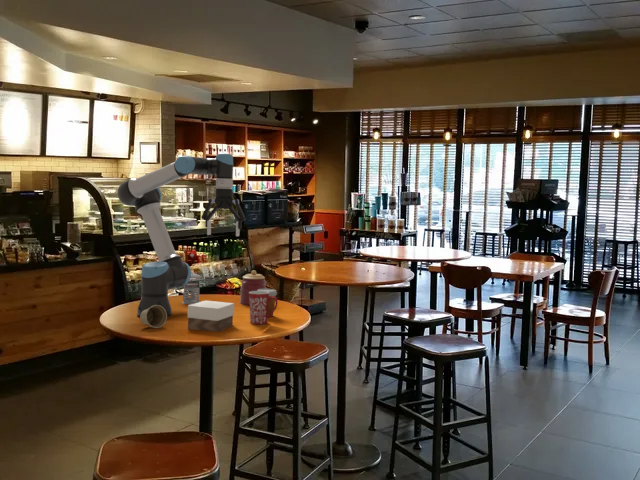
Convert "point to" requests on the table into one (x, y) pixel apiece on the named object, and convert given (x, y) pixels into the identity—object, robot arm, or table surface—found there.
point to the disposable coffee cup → (272, 301)
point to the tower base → (210, 324)
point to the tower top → (210, 310)
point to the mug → (260, 306)
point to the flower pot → (154, 316)
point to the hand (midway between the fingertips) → (223, 235)
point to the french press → (193, 289)
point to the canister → (251, 286)
